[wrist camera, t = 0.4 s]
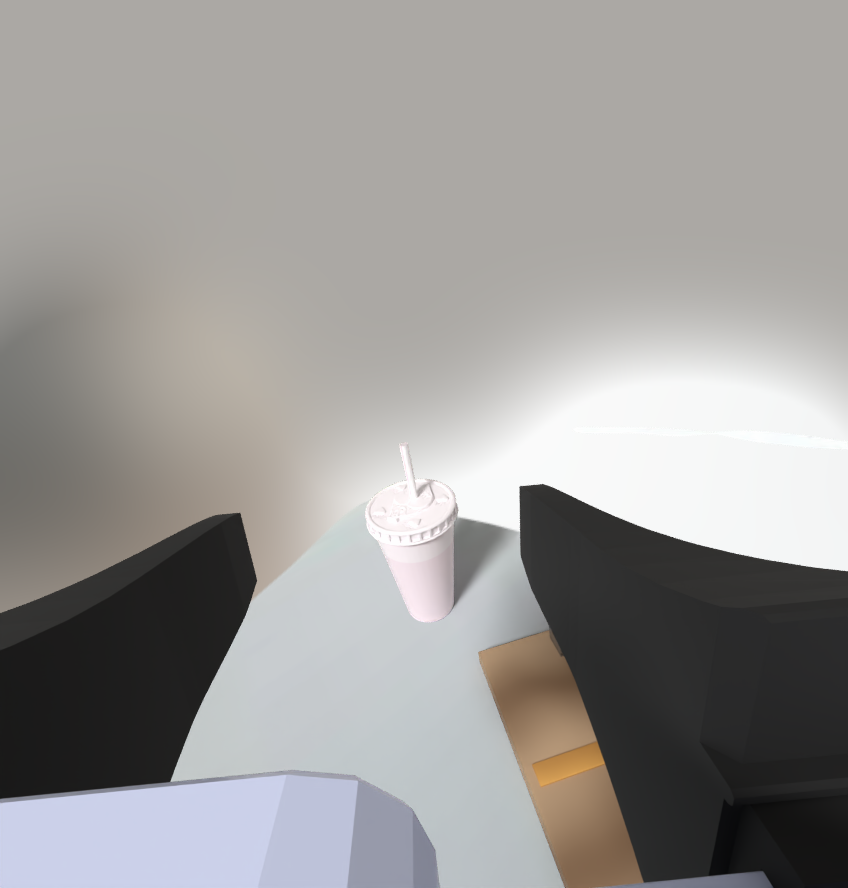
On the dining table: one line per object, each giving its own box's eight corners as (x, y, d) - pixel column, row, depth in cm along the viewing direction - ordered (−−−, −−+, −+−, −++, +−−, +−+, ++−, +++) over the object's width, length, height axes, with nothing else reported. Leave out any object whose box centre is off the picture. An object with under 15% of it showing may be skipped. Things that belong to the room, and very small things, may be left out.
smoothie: (485, 587, 34) (466, 432, 28) (444, 652, 30) (409, 485, 23) (420, 563, 38) (389, 421, 31) (374, 618, 33) (327, 464, 27)
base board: (1404, 1498, 9) (1454, 1512, 8) (934, 1867, 7) (961, 1912, 7) (641, 611, 30) (642, 600, 29) (479, 661, 28) (478, 651, 28)
